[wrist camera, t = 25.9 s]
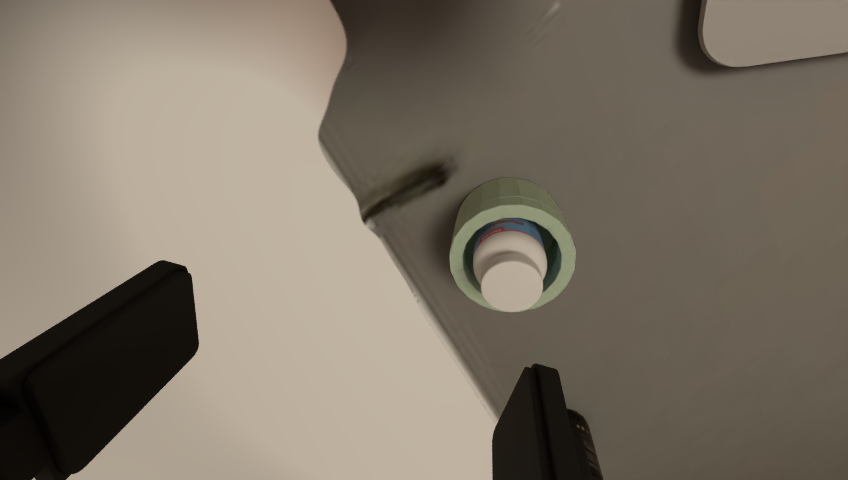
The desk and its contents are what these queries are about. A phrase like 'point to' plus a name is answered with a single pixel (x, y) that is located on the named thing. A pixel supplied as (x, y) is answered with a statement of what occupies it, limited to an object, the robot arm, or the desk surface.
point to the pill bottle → (510, 263)
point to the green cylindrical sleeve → (512, 202)
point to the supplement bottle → (586, 442)
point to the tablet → (771, 30)
